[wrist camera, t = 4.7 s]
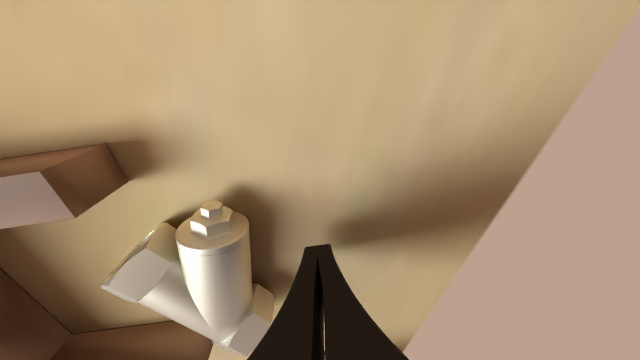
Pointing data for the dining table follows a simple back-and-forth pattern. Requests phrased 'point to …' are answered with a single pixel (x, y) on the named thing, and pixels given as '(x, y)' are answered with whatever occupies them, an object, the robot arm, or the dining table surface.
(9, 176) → the fitting jig
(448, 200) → the dining table surface
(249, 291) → the pipe fitting
